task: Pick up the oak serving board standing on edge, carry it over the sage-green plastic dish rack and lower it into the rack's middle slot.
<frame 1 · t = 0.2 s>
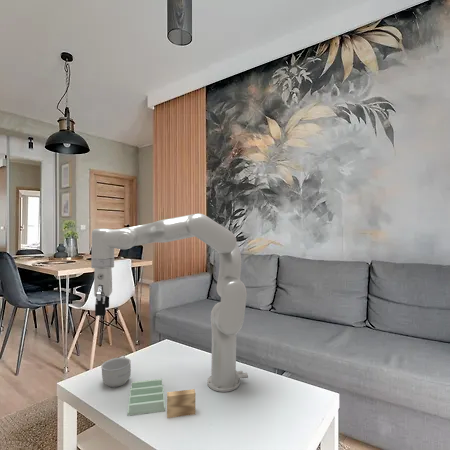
hand: (102, 311, 110), 31 cm above the table, fingers open, 9 cm apart
oak board: (181, 414, 102), on the table
teacup: (118, 381, 122), on the table
dish rack: (146, 400, 109), on the table
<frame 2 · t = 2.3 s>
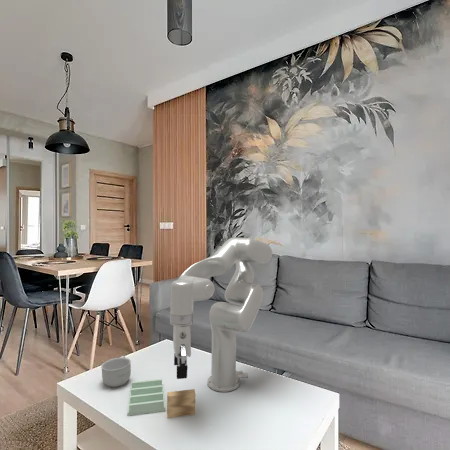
hand: (180, 371, 101), 14 cm above the table, fingers open, 9 cm apart
nothing on the table moved.
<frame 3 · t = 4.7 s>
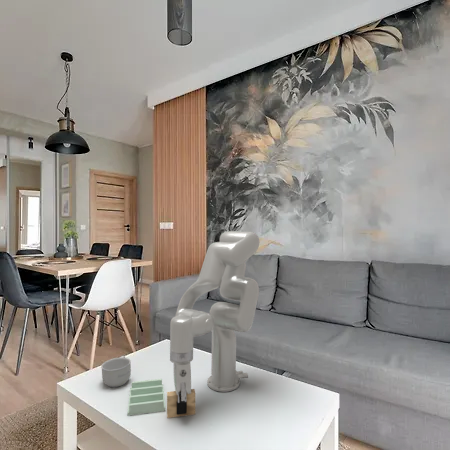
hand: (181, 410, 102), 1 cm above the table, fingers closed on oak board, 2 cm apart
oak board: (181, 413, 102), on the table, touching gripper
everything else where it was.
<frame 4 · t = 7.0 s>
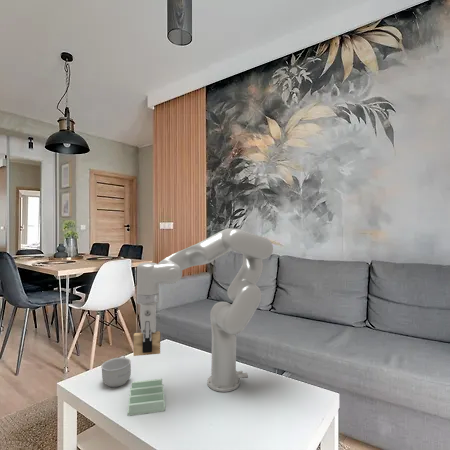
hand: (147, 349, 109), 18 cm above the table, fingers closed on oak board, 2 cm apart
oak board: (147, 353, 109), point 17 cm above the table, touching gripper
everything else where it was.
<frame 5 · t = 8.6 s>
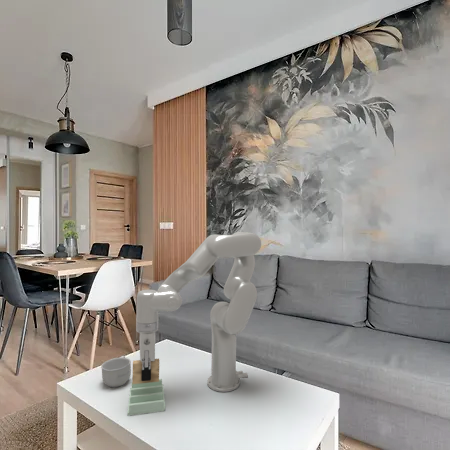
hand: (146, 377, 109), 8 cm above the table, fingers closed on oak board, 2 cm apart
oak board: (145, 381, 109), point 7 cm above the table, touching gripper
everything else where it was.
when the fingers open (4 cm above the table, at t = 9.7 s): oak board drops 1 cm, resting on dish rack.
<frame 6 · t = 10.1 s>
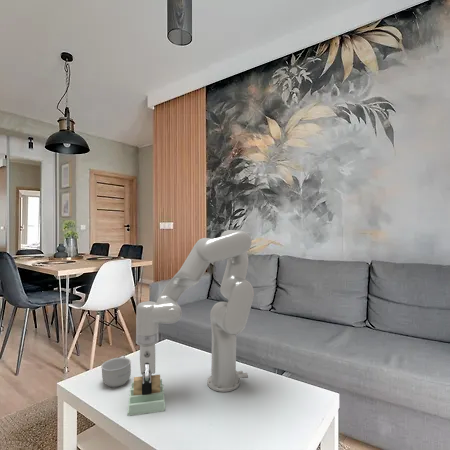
hand: (146, 387, 109), 4 cm above the table, fingers open, 7 cm apart
oak board: (146, 397, 109), point 1 cm above the table, touching dish rack
everything else where it was.
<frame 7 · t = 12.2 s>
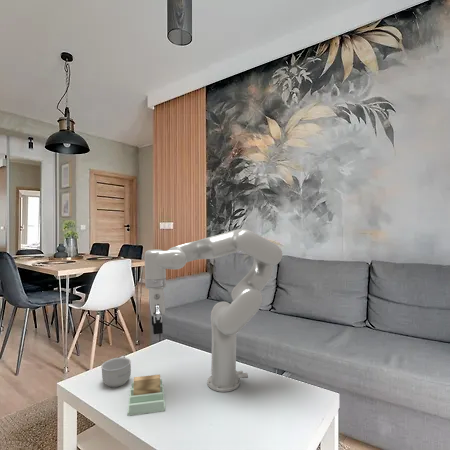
hand: (157, 329, 115), 23 cm above the table, fingers open, 9 cm apart
nothing on the table moved.
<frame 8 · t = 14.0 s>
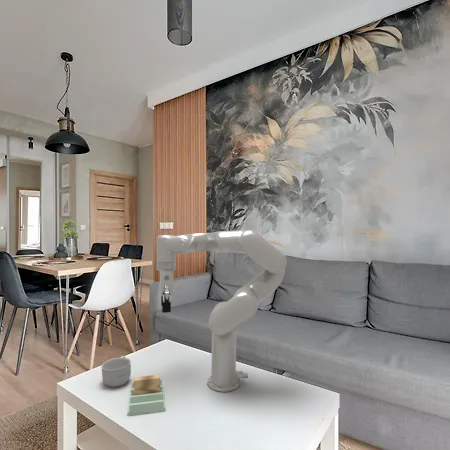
hand: (165, 308, 123), 28 cm above the table, fingers open, 9 cm apart
nothing on the table moved.
at the end: oak board 0.1 cm off-centre on the dish rack, point 1.0 cm above the dish rack's base; oak board tilted 0°; the gripper is holding nothing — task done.
